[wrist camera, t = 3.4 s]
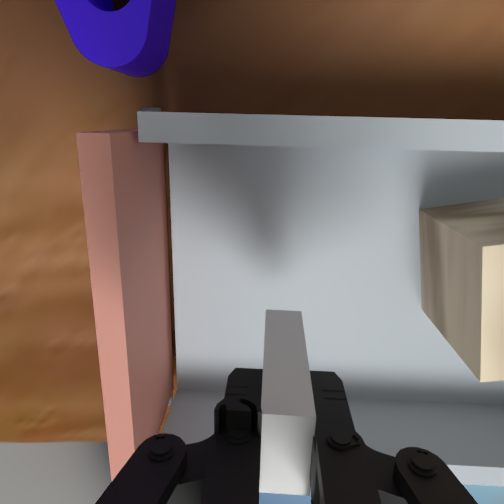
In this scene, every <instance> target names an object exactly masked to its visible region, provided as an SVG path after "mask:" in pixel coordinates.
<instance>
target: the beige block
mask: <svg viewBox="0 0 504 504" xmlns="http://www.w3.org/2000/svg"><path fill="white" fill-rule="evenodd" d="M419 233H420V266H421V299H422V310H423V312H424V313H425V314H426V315H427V317H428V318H429V319H430V320H431V322H432V323H433V324H434V325H435V327H436V328H437V329H438V330H439V332H440V333H441V334H442V335H443V337H444V338H445V339H446V340H447V342H448V343H449V344H450V345H451V347H452V348H453V349H454V350H455V352H456V353H457V354H458V355H459V357H460V358H461V359H462V360H463V361H464V363H465V364H466V365H467V366H468V368H469V369H470V370H471V371H472V373H473V374H474V375H475V376H476V378H477V379H478V380H479V381H480V382H490V381H500V380H504V198H499V199H491V200H484V201H476V202H469V203H462V204H454V205H447V206H439V207H432V208H424V209H419Z"/></svg>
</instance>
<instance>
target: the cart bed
mask: <svg viewBox="0 0 504 504" xmlns="http://www.w3.org/2000/svg"><path fill="white" fill-rule="evenodd" d="M141 110H142V111H137V121H138V138H139V142H149V143H168V148H169V175H170V202H171V230H172V257H173V284H174V312H175V339H176V366H177V392H176V395H175V398H174V401H173V394H172V395H171V398H170V401H169V404H168V406H170V405H171V404H172V406H171V409H170V412H169V415H168V418H167V420H166V423H165V426H164V429H163V432H162V433H167V434H174V435H176V436H178V437H180V438H181V439H182V440H183V441H184V442H185V445H186V444H191V443H196V442H200V441H203V440H205V439H207V438H209V437H210V436H211V435H213V434H214V409H215V407H216V405H217V403H219V402H220V401H221V400H222V399H224V396H225V390H226V385H227V380H228V375H229V374H230V373H231V372H232V371H233V370H234V369H235V368H253V369H263V357H264V337H265V317H266V309H267V310H289V311H301V313H302V320H303V327H304V334H305V341H306V348H307V355H308V362H309V369H310V371H329V372H335V373H336V374H337V375H338V377H339V378H340V379H341V380H342V382H343V385H344V389H345V393H346V397H347V401H348V404H349V408H350V412H351V416H352V420H353V423H354V427H355V431H356V432H357V433H358V434H359V435H360V436H361V437H362V439H363V441H364V442H365V444H366V445H367V446H368V447H370V448H372V449H374V450H376V451H378V452H381V453H384V454H387V455H391V456H394V457H396V454H397V453H398V452H399V450H400V449H403V448H406V447H419V448H422V449H426V450H428V451H430V452H432V453H434V454H435V455H437V456H438V457H439V458H440V459H442V460H443V461H444V462H445V463H446V465H447V466H448V467H449V468H450V470H451V471H452V472H453V473H454V475H455V476H456V477H457V478H458V480H459V481H460V482H461V483H462V484H471V485H488V486H504V380H500V381H490V382H480V381H479V380H478V379H477V378H476V376H475V375H474V374H473V373H472V371H471V370H470V369H469V368H468V366H467V365H466V364H465V363H464V361H463V360H462V359H461V358H460V357H459V355H458V354H457V353H456V352H455V350H454V349H453V348H452V347H451V345H450V344H449V343H448V342H447V340H446V339H445V338H444V337H443V335H442V334H441V333H440V332H439V330H438V329H437V328H436V327H435V325H434V324H433V323H432V322H431V320H430V319H429V318H428V317H427V315H426V314H425V313H424V312H423V310H422V299H421V266H420V233H419V209H424V208H432V207H439V206H447V205H454V204H462V203H469V202H476V201H484V200H491V199H499V198H504V120H467V119H426V118H386V117H346V116H306V115H266V114H225V113H185V112H161V108H155V107H141Z"/></svg>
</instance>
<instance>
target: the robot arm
mask: <svg viewBox="0 0 504 504" xmlns="http://www.w3.org/2000/svg"><path fill="white" fill-rule="evenodd" d="M310 487H311V497H312V498H311V504H478V503H477V502H476V501H475V500H474V498H473V497H472V496H471V495H470V493H469V492H468V491H467V490H466V489H465V487H464V486H463V485H462V483H461V482H460V481H459V480H458V478H457V477H456V476H455V475H454V473H453V472H452V471H451V470H450V468H449V467H448V466H447V465H446V463H445V462H444V461H443V460H442V459H440V458H439V457H438V456H437V455H435V454H434V453H432V452H430V451H428V450H426V449H422V448H419V447H406V448H403V449H400V450H399V452H398V453H397V454H396V457H394V456H391V455H387V454H384V453H381V452H378V451H376V450H374V449H372V448H370V447H368V446H367V445H366V444H365V442H364V441H363V439H362V437H361V436H360V435H359V434H358V433H357V432H356V431H355V427H354V423H353V420H352V416H351V412H350V408H349V404H348V401H347V397H346V393H345V389H344V385H343V382H342V380H341V379H340V378H339V377H338V375H337V374H336V373H335V372H329V371H310V369H309V362H308V355H307V348H306V341H305V334H304V327H303V320H302V313H301V311H289V310H267V309H266V317H265V337H264V357H263V369H253V368H235V369H234V370H233V371H232V372H231V373H230V374H229V375H228V380H227V385H226V390H225V396H224V399H222V400H221V401H220V402H219V403H217V405H216V407H215V409H214V434H213V435H211V436H210V437H209V438H207V439H205V440H203V441H200V442H196V443H191V444H186V445H185V442H184V441H183V440H182V439H181V438H180V437H178V436H176V435H174V434H167V433H162V434H157V435H153V436H151V437H149V438H147V439H146V440H145V441H143V442H142V443H141V444H140V445H139V446H138V448H137V449H136V450H135V452H134V453H133V454H132V456H131V457H130V458H129V460H128V461H127V462H126V464H125V465H124V466H123V468H122V469H121V470H120V472H119V473H118V474H117V475H116V477H115V478H114V479H113V481H112V482H111V483H110V485H109V486H108V487H107V489H106V490H105V491H104V493H103V494H102V496H101V497H100V498H99V500H98V501H97V502H96V503H95V504H259V492H264V493H265V492H266V493H280V494H295V495H310Z"/></svg>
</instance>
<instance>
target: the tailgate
mask: <svg viewBox="0 0 504 504" xmlns="http://www.w3.org/2000/svg"><path fill="white" fill-rule="evenodd" d="M76 138H77V148H78V158H79V168H80V178H81V187H82V197H83V207H84V217H85V226H86V236H87V246H88V256H89V265H90V275H91V285H92V295H93V304H94V314H95V324H96V334H97V344H98V353H99V363H100V373H101V383H102V392H103V402H104V412H105V422H106V431H107V441H108V451H109V461H110V470H111V479H112V481H113V479H114V478H115V477H116V475H117V474H118V473H119V472H120V470H121V469H122V468H123V466H124V465H125V464H126V462H127V461H128V460H129V458H130V457H131V456H132V454H133V453H134V452H135V450H136V449H137V448H138V446H139V445H140V444H141V443H142V442H143V441H145V440H146V439H147V438H149V437H151V436H153V435H157V434H158V433H159V430H160V427H161V424H162V421H163V418H164V415H165V412H166V409H167V407H168V404H169V401H170V398H171V395H172V392H173V389H174V387H173V362H172V337H171V312H170V287H169V262H168V237H167V212H166V187H165V162H164V143H149V142H139V138H138V129H131V130H113V131H94V132H76Z"/></svg>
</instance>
